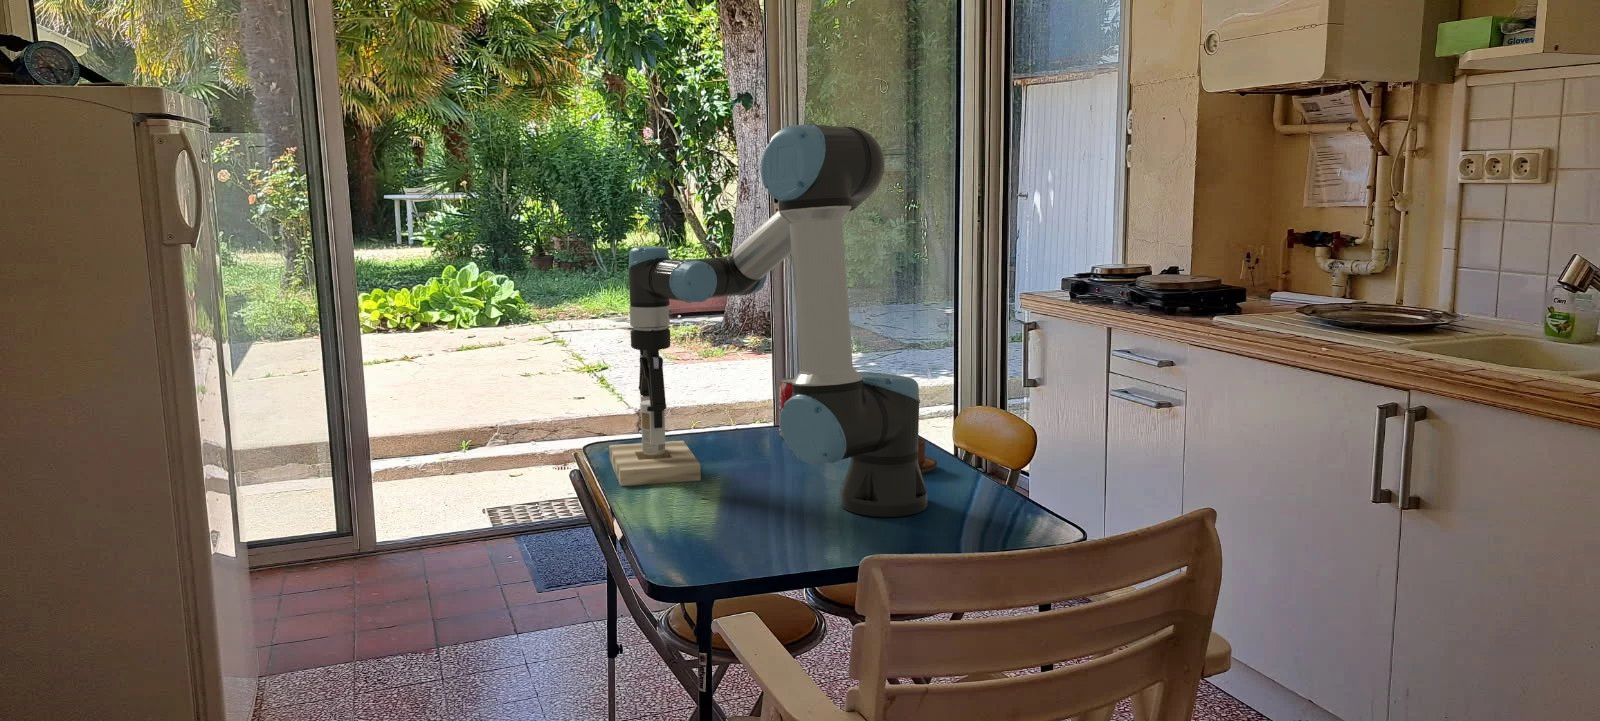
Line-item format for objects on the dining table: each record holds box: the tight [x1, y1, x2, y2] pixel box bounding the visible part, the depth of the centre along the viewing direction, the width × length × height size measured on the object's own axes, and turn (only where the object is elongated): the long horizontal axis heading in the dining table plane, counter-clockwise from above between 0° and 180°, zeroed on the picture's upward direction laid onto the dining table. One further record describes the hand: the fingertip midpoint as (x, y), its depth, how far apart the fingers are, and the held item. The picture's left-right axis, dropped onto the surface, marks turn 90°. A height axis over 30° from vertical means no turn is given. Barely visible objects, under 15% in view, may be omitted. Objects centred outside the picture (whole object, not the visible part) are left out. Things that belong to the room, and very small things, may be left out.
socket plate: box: [608, 440, 702, 487], centre depth 216 cm, size 20×15×3 cm
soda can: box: [778, 376, 796, 440], centre depth 241 cm, size 7×7×13 cm
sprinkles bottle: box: [639, 400, 665, 460], centre depth 215 cm, size 5×5×13 cm
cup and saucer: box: [918, 436, 938, 474], centre depth 215 cm, size 12×12×6 cm
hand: (652, 436), depth 215 cm, fingers open, 13 cm apart
